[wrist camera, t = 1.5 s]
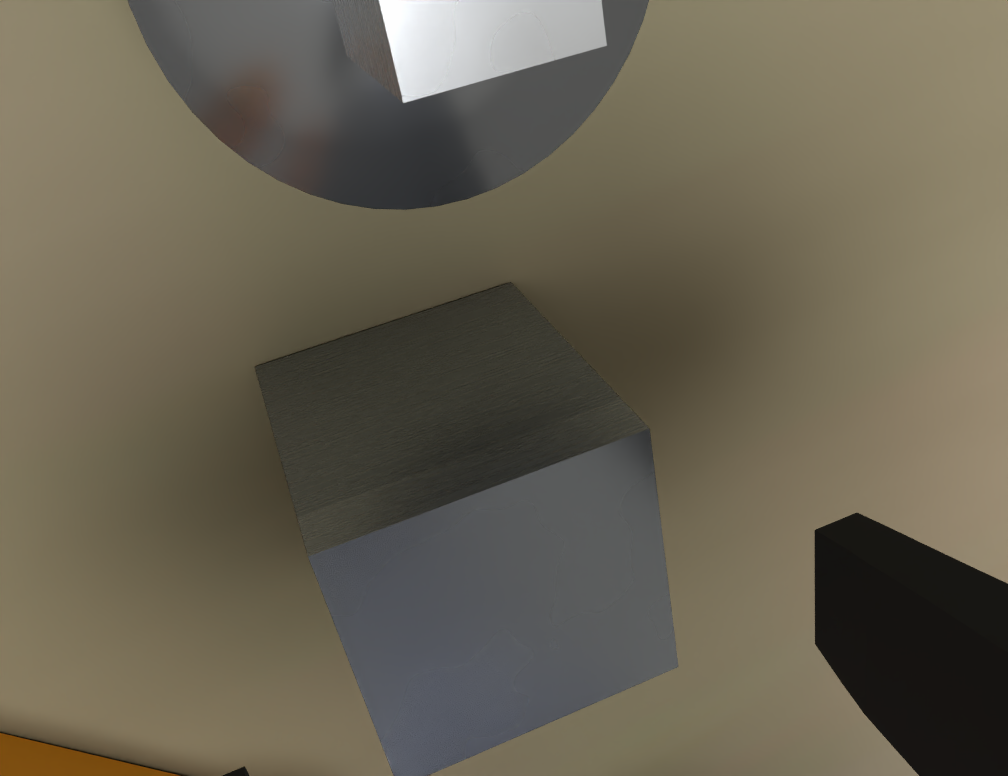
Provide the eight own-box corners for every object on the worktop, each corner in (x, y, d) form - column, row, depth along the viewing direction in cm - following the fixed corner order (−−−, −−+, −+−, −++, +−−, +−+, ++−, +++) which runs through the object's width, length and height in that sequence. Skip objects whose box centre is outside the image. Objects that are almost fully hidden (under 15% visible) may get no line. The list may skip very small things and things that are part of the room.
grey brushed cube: (550, 485, 18) (678, 666, 14) (330, 568, 17) (398, 788, 13) (510, 282, 16) (649, 428, 12) (254, 366, 15) (308, 556, 11)
